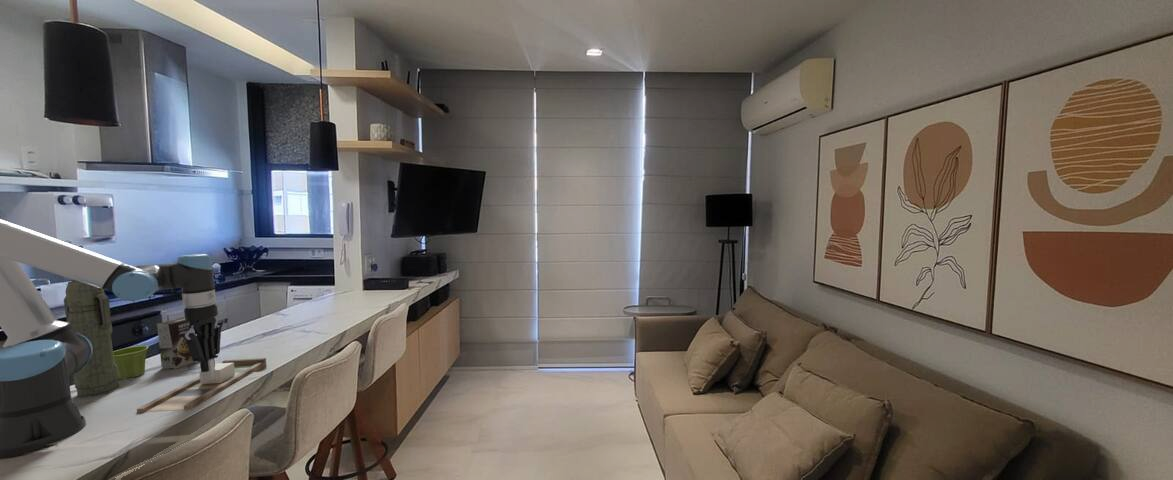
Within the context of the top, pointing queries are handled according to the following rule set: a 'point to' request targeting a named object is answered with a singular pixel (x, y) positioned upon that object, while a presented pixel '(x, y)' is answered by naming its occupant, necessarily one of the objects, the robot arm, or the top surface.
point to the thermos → (92, 337)
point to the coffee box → (174, 343)
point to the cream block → (221, 373)
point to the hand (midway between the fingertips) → (209, 380)
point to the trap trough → (201, 388)
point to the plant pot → (130, 361)
